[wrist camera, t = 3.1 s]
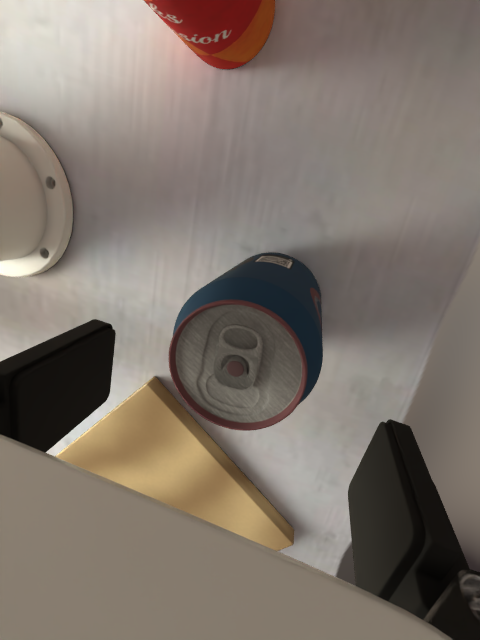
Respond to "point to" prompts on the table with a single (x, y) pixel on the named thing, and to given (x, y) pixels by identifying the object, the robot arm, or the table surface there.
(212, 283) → the soda can
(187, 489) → the breadboard
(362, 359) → the table surface
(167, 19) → the paper cup
